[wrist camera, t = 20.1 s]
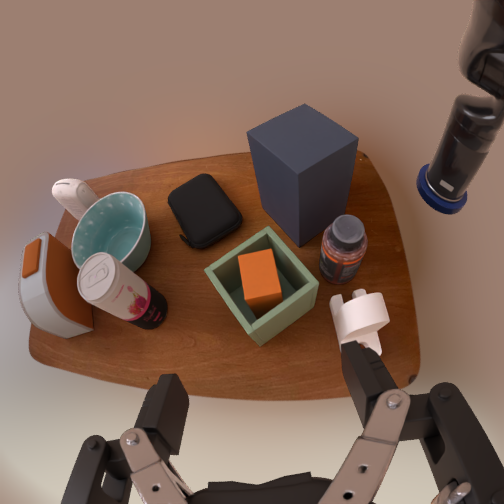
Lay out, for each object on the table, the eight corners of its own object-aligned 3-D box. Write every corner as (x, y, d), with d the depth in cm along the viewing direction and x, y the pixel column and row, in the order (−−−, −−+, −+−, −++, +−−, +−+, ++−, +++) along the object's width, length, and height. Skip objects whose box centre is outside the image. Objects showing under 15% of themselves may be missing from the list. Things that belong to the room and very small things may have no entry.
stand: (306, 180, 49) (304, 103, 34) (344, 214, 45) (359, 138, 30) (262, 208, 48) (246, 131, 33) (299, 247, 44) (297, 174, 29)
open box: (274, 259, 43) (268, 225, 34) (314, 306, 39) (319, 282, 30) (223, 295, 42) (203, 269, 33) (259, 346, 38) (248, 334, 29)
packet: (277, 279, 41) (271, 247, 32) (285, 314, 38) (281, 292, 29) (250, 285, 41) (237, 255, 32) (257, 320, 38) (245, 299, 30)
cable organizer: (361, 292, 39) (379, 264, 30) (378, 356, 34) (403, 346, 25) (328, 300, 39) (337, 275, 30) (343, 366, 34) (359, 360, 26)
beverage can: (174, 319, 41) (121, 286, 28) (140, 336, 41) (80, 310, 27) (161, 285, 44) (110, 241, 31) (129, 302, 44) (73, 266, 30)
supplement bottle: (363, 265, 40) (382, 226, 31) (341, 293, 39) (355, 261, 29) (334, 242, 43) (343, 199, 33) (310, 269, 42) (314, 230, 32)
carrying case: (163, 204, 52) (193, 260, 45) (157, 195, 49) (187, 252, 43) (210, 176, 53) (248, 226, 47) (205, 166, 51) (245, 216, 44)
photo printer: (113, 209, 54) (82, 173, 43) (104, 226, 52) (70, 191, 41) (84, 206, 57) (54, 174, 46) (76, 222, 55) (44, 191, 44)
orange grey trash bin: (62, 272, 49) (19, 243, 37) (90, 259, 49) (47, 225, 37) (63, 339, 42) (12, 319, 30) (94, 329, 42) (40, 306, 30)
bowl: (177, 264, 45) (156, 240, 38) (105, 306, 44) (76, 290, 37) (152, 203, 53) (134, 177, 45) (91, 241, 51) (68, 221, 44)
